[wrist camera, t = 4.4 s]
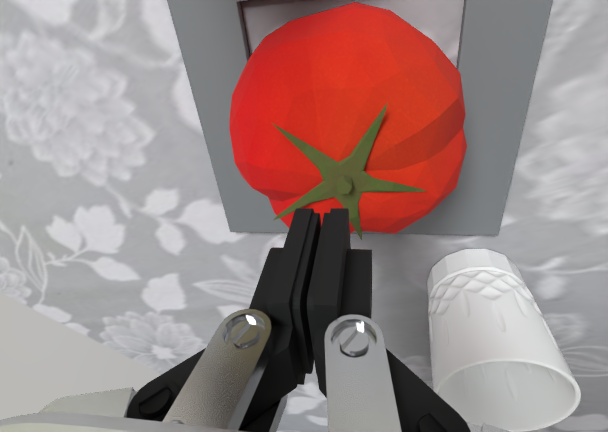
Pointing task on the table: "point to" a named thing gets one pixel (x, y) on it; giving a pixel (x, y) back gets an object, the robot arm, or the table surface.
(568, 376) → the white cup
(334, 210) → the robot arm
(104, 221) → the table surface
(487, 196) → the gray picture frame
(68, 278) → the table surface
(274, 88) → the tomato
